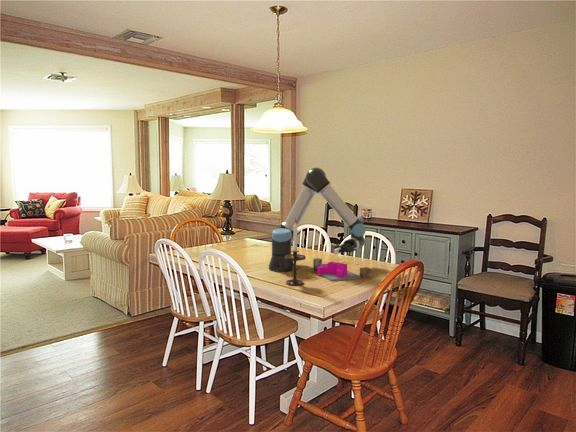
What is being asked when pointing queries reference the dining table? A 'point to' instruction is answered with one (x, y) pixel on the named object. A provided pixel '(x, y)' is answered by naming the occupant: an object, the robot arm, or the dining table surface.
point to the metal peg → (316, 263)
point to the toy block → (333, 269)
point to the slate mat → (335, 278)
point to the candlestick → (294, 258)
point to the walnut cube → (365, 272)
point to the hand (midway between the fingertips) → (335, 252)
